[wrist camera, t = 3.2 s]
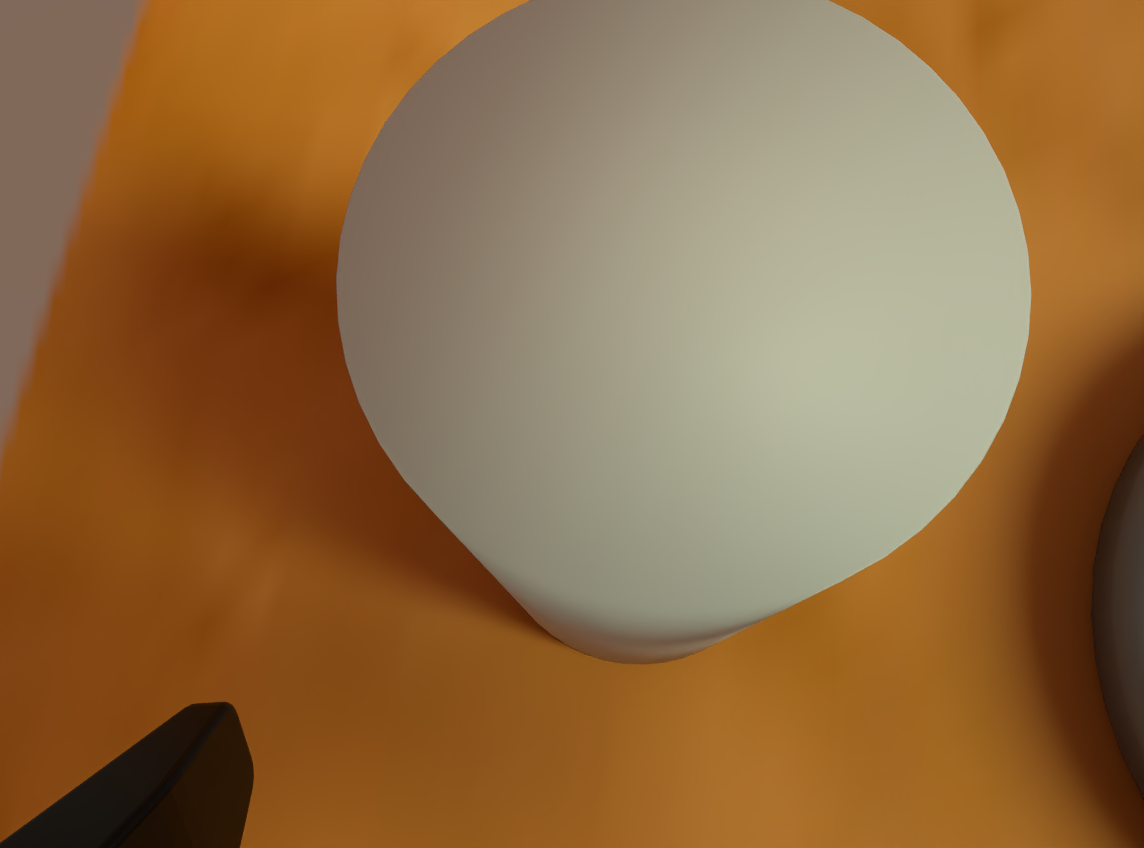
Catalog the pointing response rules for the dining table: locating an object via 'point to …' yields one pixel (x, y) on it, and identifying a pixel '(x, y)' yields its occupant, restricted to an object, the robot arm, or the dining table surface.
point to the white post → (681, 307)
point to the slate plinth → (1123, 612)
